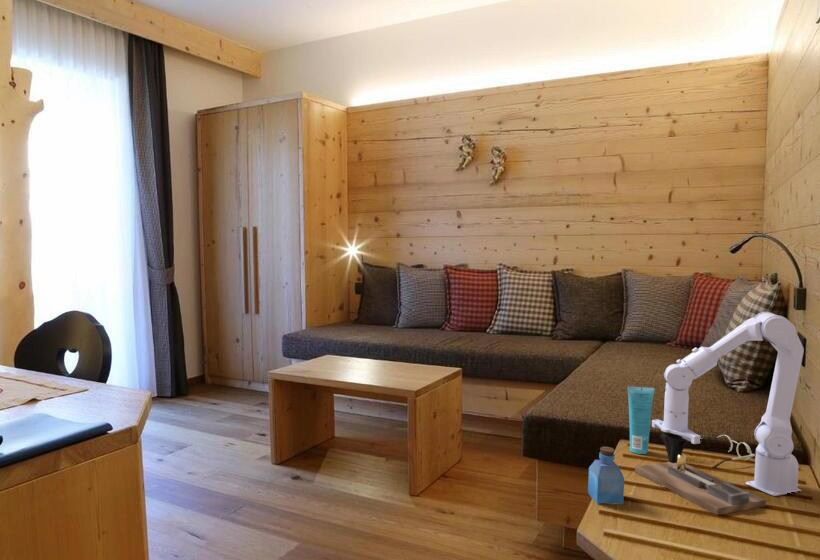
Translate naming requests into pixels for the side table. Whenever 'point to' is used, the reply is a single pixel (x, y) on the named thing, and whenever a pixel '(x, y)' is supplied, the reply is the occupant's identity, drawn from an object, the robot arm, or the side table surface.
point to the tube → (640, 417)
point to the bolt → (681, 467)
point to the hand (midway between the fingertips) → (673, 462)
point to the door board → (701, 488)
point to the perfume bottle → (606, 479)
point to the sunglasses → (737, 452)
